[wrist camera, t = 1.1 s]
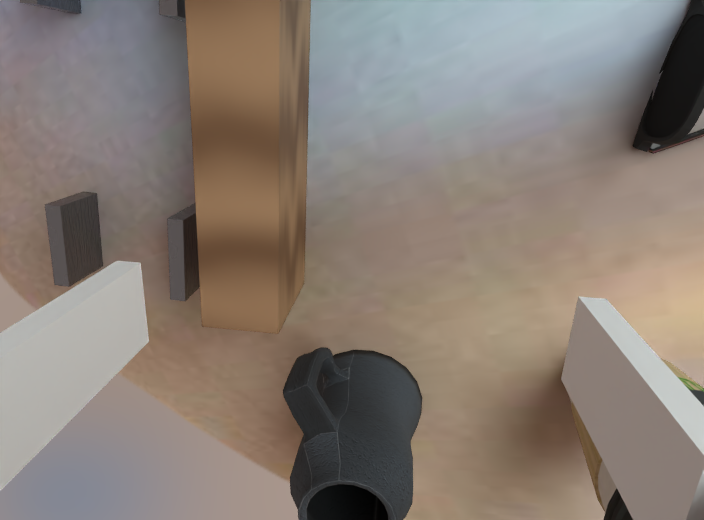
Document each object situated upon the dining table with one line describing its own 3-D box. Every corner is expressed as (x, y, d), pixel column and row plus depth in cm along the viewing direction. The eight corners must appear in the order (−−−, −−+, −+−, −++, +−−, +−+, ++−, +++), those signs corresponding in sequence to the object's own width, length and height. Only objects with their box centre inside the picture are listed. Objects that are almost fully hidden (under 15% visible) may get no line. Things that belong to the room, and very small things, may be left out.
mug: (441, 428, 39) (454, 556, 29) (338, 463, 41) (314, 594, 31) (373, 298, 36) (359, 388, 26) (265, 344, 38) (211, 444, 28)
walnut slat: (236, -75, 29) (177, -129, 22) (312, -73, 29) (279, -127, 21) (243, 276, 37) (202, 326, 29) (304, 282, 36) (278, 333, 29)
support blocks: (83, 191, 36) (44, 204, 32) (207, 205, 35) (182, 220, 31) (89, 264, 37) (54, 284, 34) (207, 279, 37) (185, 301, 33)
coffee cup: (686, 419, 37) (861, 629, 23) (547, 439, 38) (629, 645, 24) (679, 298, 34) (874, 452, 20) (528, 325, 35) (608, 484, 21)
